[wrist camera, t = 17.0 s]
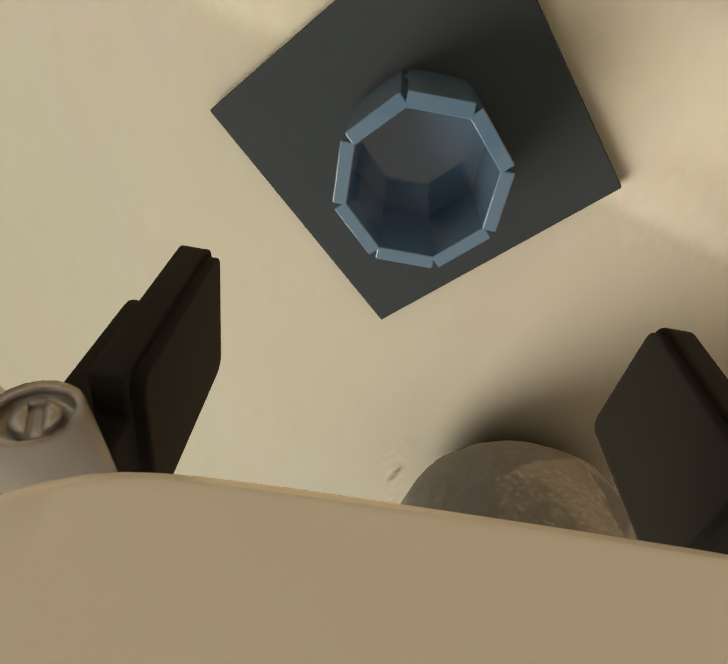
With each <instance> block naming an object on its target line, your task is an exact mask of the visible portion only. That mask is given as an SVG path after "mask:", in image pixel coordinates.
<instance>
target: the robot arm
mask: <svg viewBox="0 0 728 664" xmlns="http://www.w3.org/2000/svg"><path fill="white" fill-rule="evenodd" d="M220 360H221V322H220V261H219V259H218V258H213V257H212V256H211V252H210V250H207V249H201V248H195V247H189V246H180V247H179V248H178V250H177V251H176V252H175V254H174V255H173V256H172V258H171V259H170V260H169V262H168V263H167V264H166V266H165V267H164V268H163V270H162V271H161V272H160V274H159V275H158V276H157V278H156V279H155V281H154V282H153V283H152V285H151V286H150V287H149V289H148V290H147V291H146V293H145V294H144V295H143V297H142V298H141V299H140V301H138V300H130V301H128V302H127V303H126V304H125V305H124V306H123V307H122V309H121V310H120V311H119V312H118V314H117V315H116V316H115V318H114V319H113V320H112V321H111V323H110V324H109V325H108V327H107V328H106V329H105V330H104V332H103V333H102V334H101V336H100V337H99V338H98V339H97V341H96V342H95V343H94V345H93V346H92V347H91V348H90V350H89V351H88V352H87V353H86V355H85V356H84V357H83V359H82V360H81V361H80V362H79V364H78V365H77V366H76V368H75V369H74V370H73V371H72V373H71V374H70V375H69V377H68V378H67V379H66V380H65V382H60V381H36V382H30V383H25V384H22V385H19V386H17V387H14V388H11V389H9V390H7V391H5V392H4V393H2V394H0V664H728V379H727V378H726V376H725V375H724V374H723V372H722V371H721V370H720V368H719V367H718V366H717V364H716V363H715V362H714V360H713V359H712V358H711V356H710V355H709V354H708V352H707V351H706V350H705V348H704V347H703V346H702V344H701V343H700V342H699V340H698V339H697V338H696V336H695V335H694V334H693V333H691V332H686V331H681V330H675V329H669V328H661V329H659V330H658V331H657V332H656V333H651V334H649V335H648V336H647V338H646V339H645V341H644V342H643V344H642V346H641V347H640V349H639V350H638V352H637V354H636V355H635V357H634V358H633V360H632V362H631V363H630V365H629V366H628V368H627V370H626V371H625V373H624V374H623V376H622V378H621V379H620V381H619V382H618V384H617V386H616V387H615V389H614V390H613V392H612V394H611V395H610V397H609V398H608V400H607V402H606V403H605V405H604V406H603V408H602V410H601V411H600V413H599V414H598V416H597V418H596V421H595V432H596V435H597V438H598V440H599V443H600V445H601V448H602V451H603V453H604V456H605V458H606V461H607V463H608V466H609V468H610V471H611V473H612V476H613V478H614V481H615V483H616V486H617V488H618V491H619V494H620V496H621V499H622V501H623V504H624V506H625V509H626V511H627V514H628V516H629V519H630V521H631V524H632V526H633V529H634V531H635V534H636V537H637V539H638V540H634V539H627V538H621V537H615V536H608V535H602V534H595V533H589V532H583V531H576V530H570V529H563V528H556V527H550V526H543V525H537V524H530V523H523V522H517V521H510V520H504V519H497V518H490V517H484V516H477V515H470V514H464V513H457V512H450V511H444V510H437V509H430V508H424V507H417V506H410V505H403V504H396V503H389V502H382V501H375V500H369V499H362V498H355V497H348V496H341V495H334V494H327V493H320V492H313V491H306V490H300V489H293V488H285V487H278V486H270V485H262V484H254V483H247V482H239V481H231V480H224V479H216V478H208V477H199V476H188V475H177V474H173V473H174V471H175V469H176V467H177V464H178V462H179V460H180V457H181V455H182V453H183V451H184V448H185V446H186V444H187V441H188V439H189V437H190V434H191V432H192V430H193V428H194V425H195V423H196V421H197V418H198V416H199V414H200V412H201V409H202V407H203V405H204V402H205V400H206V398H207V396H208V393H209V391H210V389H211V386H212V384H213V382H214V380H215V377H216V375H217V373H218V370H219V366H220Z"/></svg>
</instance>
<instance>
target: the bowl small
mask: <svg viewBox="0 0 728 664" xmlns="http://www.w3.org/2000/svg"><path fill="white" fill-rule="evenodd" d="M514 165H515V164H514V161H513V160H512V158H511V156H510V154H509V152H508V150H507V148H506V146H505V144H504V142H503V141H502V139H501V137H500V135H499V133H498V131H497V129H496V127H495V126H494V124H493V122H492V120H491V118H490V116H489V115H488V113H487V111H486V109H485V107H484V106H483V104H482V102H481V100H480V98H479V96H478V95H477V93H476V91H475V89H474V87H473V85H472V84H469V85H468V84H467V82H466V80H465V79H464V78H459V77H454V76H448V75H446V74H442V73H439V72H433V71H423V70H417V69H412V68H408V71H407V73H403V71H402V70H400V71H399V72H397V73H396V74H395V75H393V76H392V77H391V78H389V79H388V80H386V81H385V82H383V83H382V84H380V85H379V86H377V87H376V88H375V89H374V90H373V91H372V92H371V93H370V94H368V95H367V96H366V97H365V98H363V99H362V100H361V101H359V102H358V103H357V104H356V105H355V107H354V110H353V112H351V114H350V116H349V119H348V122H347V124H346V127H345V130H344V132H343V135H342V138H341V140H340V145H339V153H338V160H337V168H336V176H335V183H334V191H333V198H332V201H333V202H334V203H336V206H335V211H336V212H337V214H338V215H339V216H340V218H341V219H342V220H343V221H344V223H345V224H346V225H347V227H348V228H349V229H350V230H351V232H352V233H353V234H354V236H355V237H356V238H357V240H358V241H359V242H360V243H361V245H362V246H363V247H364V249H365V250H366V251H367V252H368V254H371V253H373V252H375V251H376V255H375V257H376V258H377V259H382V260H388V261H393V262H399V263H405V264H410V265H416V266H421V267H427V268H432V266H433V262H435V263H436V264H437V266H438V267H440V266H442V265H444V264H446V263H447V262H449V261H451V260H453V259H454V258H456V257H458V256H460V255H461V254H463V253H465V252H467V251H468V250H470V249H472V248H474V247H476V246H477V245H479V244H481V243H483V242H484V241H486V240H488V239H490V234H489V231H493V232H495V231H496V229H497V226H498V223H499V220H500V217H501V215H502V212H503V209H504V206H505V203H506V200H507V197H508V194H509V191H510V188H511V185H512V182H513V179H514V176H515V172H514V170H513V168H512V167H513V166H514Z"/></svg>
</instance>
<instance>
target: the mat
mask: <svg viewBox="0 0 728 664" xmlns="http://www.w3.org/2000/svg"><path fill="white" fill-rule="evenodd" d="M408 68H412V69H417V70H423V71H433V72H439V73H442V74H446V75H448V76H454V77H459V78H464V79H465V80H466V82H467V84H468V85H469V84H472V85H473V87H474V89H475V91H476V93H477V95H478V96H479V98H480V100H481V102H482V104H483V106H484V107H485V109H486V111H487V113H488V115H489V116H490V118H491V120H492V122H493V124H494V126H495V127H496V129H497V131H498V133H499V135H500V137H501V139H502V141H503V142H504V144H505V146H506V148H507V150H508V152H509V154H510V156H511V158H512V160H513V161H514V164H515V165H514V166H513V167H512V168H513V170H514V172H515V176H514V179H513V182H512V185H511V188H510V191H509V194H508V197H507V200H506V203H505V206H504V209H503V212H502V215H501V217H500V220H499V223H498V226H497V229H496V231H495V232H493V231H489V234H490V239H488V240H486V241H484V242H483V243H481V244H479V245H477V246H476V247H474V248H472V249H470V250H468V251H467V252H465V253H463V254H461V255H460V256H458V257H456V258H454V259H453V260H451V261H449V262H447V263H446V264H444V265H442V266H440V267H438V266H437V264H436V263H435V262H433V266H432V268H427V267H421V266H416V265H410V264H405V263H399V262H393V261H388V260H382V259H377V258H376V257H375V255H376V251H375V252H373V253H371V254H368V252H367V251H366V250H365V249H364V247H363V246H362V245H361V243H360V242H359V241H358V240H357V238H356V237H355V236H354V234H353V233H352V232H351V230H350V229H349V228H348V227H347V225H346V224H345V223H344V221H343V220H342V219H341V218H340V216H339V215H338V214H337V212H336V211H335V206H336V203H334V202H333V201H332V198H333V191H334V183H335V176H336V168H337V160H338V153H339V145H340V140H341V138H342V135H343V132H344V130H345V127H346V124H347V122H348V119H349V116H350V114H351V112H353V110H354V107H355V105H356V104H357V103H358V102H359V101H361V100H362V99H363V98H365V97H366V96H367V95H368V94H370V93H371V92H372V91H373V90H374V89H375V88H376V87H377V86H379V85H380V84H382V83H383V82H385V81H386V80H388V79H389V78H391V77H392V76H393V75H395V74H396V73H397V72H399V71H400V70H402V71H403V73H407V71H408ZM210 111H211V112H212V114H213V115H214V116H215V117H216V118H217V120H218V121H219V122H220V123H221V125H222V126H223V127H224V128H225V129H226V131H227V132H228V133H229V134H230V136H231V137H232V138H233V139H234V140H235V142H236V143H237V144H238V145H239V146H240V148H241V149H242V150H243V151H244V153H245V154H246V155H247V156H248V157H249V159H250V160H251V161H252V162H253V164H254V165H255V166H256V167H257V168H258V170H259V171H260V172H261V173H262V175H263V176H264V177H265V178H266V179H267V181H268V182H269V183H270V184H271V186H272V187H273V188H274V189H275V190H276V192H277V193H278V194H279V195H280V196H281V198H282V199H283V200H284V201H285V203H286V204H287V205H288V206H289V207H290V209H291V210H292V211H293V212H294V214H295V215H296V216H297V217H298V218H299V220H300V221H301V222H302V223H303V225H304V226H305V227H306V228H307V229H308V231H309V232H310V233H311V234H312V235H313V237H314V238H315V239H316V240H317V242H318V243H319V244H320V245H321V246H322V248H323V249H324V250H325V251H326V253H327V254H328V255H329V256H330V257H331V259H332V260H333V261H334V262H335V264H336V265H337V266H338V267H339V268H340V270H341V271H342V272H343V273H344V274H345V276H346V277H347V278H348V279H349V281H350V282H351V283H352V284H353V285H354V287H355V288H356V289H357V290H358V292H359V293H360V294H361V295H362V296H363V298H364V299H365V300H366V301H367V303H368V304H369V305H370V306H371V307H372V309H373V310H374V311H375V312H376V313H377V315H378V316H379V317H380V318H381V319H383V318H385V317H387V316H388V315H390V314H392V313H394V312H396V311H398V310H399V309H401V308H403V307H405V306H407V305H409V304H410V303H412V302H414V301H416V300H418V299H419V298H421V297H423V296H425V295H427V294H429V293H430V292H432V291H434V290H436V289H438V288H439V287H441V286H443V285H445V284H447V283H449V282H450V281H452V280H454V279H456V278H458V277H460V276H461V275H463V274H465V273H467V272H469V271H470V270H472V269H474V268H476V267H478V266H480V265H481V264H483V263H485V262H487V261H489V260H490V259H492V258H494V257H496V256H498V255H500V254H501V253H503V252H505V251H507V250H509V249H511V248H512V247H514V246H516V245H518V244H520V243H521V242H523V241H525V240H527V239H529V238H531V237H532V236H534V235H536V234H538V233H540V232H541V231H543V230H545V229H547V228H549V227H551V226H552V225H554V224H556V223H558V222H560V221H562V220H563V219H565V218H567V217H569V216H571V215H572V214H574V213H576V212H578V211H580V210H582V209H583V208H585V207H587V206H589V205H591V204H592V203H594V202H596V201H598V200H600V199H602V198H603V197H605V196H607V195H609V194H611V193H613V192H614V191H616V190H618V189H620V188H621V184H620V182H619V180H618V178H617V176H616V173H615V171H614V169H613V167H612V165H611V162H610V160H609V158H608V156H607V153H606V151H605V149H604V147H603V145H602V142H601V140H600V138H599V136H598V133H597V131H596V129H595V127H594V125H593V122H592V120H591V118H590V116H589V114H588V111H587V109H586V107H585V105H584V102H583V100H582V98H581V96H580V94H579V91H578V89H577V87H576V85H575V82H574V80H573V78H572V76H571V74H570V71H569V69H568V67H567V65H566V63H565V60H564V58H563V56H562V54H561V51H560V49H559V47H558V45H557V43H556V40H555V38H554V36H553V34H552V31H551V29H550V27H549V25H548V23H547V20H546V18H545V16H544V14H543V12H542V9H541V7H540V5H539V3H538V0H335V1H334V2H333V3H332V4H330V5H329V6H328V7H327V8H326V9H325V10H324V11H322V12H321V13H320V14H319V15H318V16H317V17H316V18H314V19H313V20H312V21H311V22H310V23H309V24H308V25H306V26H305V27H304V28H303V29H302V30H301V31H300V32H298V33H297V34H296V35H295V36H294V37H293V38H292V39H291V40H289V41H288V42H287V43H286V44H285V45H284V46H283V47H281V48H280V49H279V50H278V51H277V52H276V53H275V54H273V55H272V56H271V57H270V58H269V59H268V60H267V61H265V62H264V63H263V64H262V65H261V66H260V67H259V68H257V69H256V70H255V71H254V72H253V73H252V74H251V75H249V76H248V77H247V78H246V79H245V80H244V81H243V82H241V83H240V84H239V85H238V86H237V87H236V88H235V89H233V90H232V91H231V92H230V93H229V94H228V95H227V96H226V97H224V98H223V99H222V100H221V101H220V102H219V103H218V104H216V105H215V106H214V107H213V108H212V109H211V110H210Z"/></svg>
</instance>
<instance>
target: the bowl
mask: <svg viewBox="0 0 728 664" xmlns="http://www.w3.org/2000/svg"><path fill="white" fill-rule="evenodd" d="M401 504H403V505H410V506H417V507H424V508H430V509H437V510H444V511H450V512H457V513H464V514H470V515H477V516H484V517H490V518H497V519H504V520H510V521H517V522H523V523H530V524H537V525H543V526H550V527H556V528H563V529H570V530H576V531H583V532H589V533H595V534H602V535H608V536H615V537H621V538H627V539H634V540H638V539H637V537H636V534H635V531H634V529H633V526H632V524H631V521H630V519H629V516H628V514H627V511H626V509H625V506H624V504H623V501H622V499H621V496H620V494H619V493H618V491H617V490H616V489H615V488H614V487H613V485H612V484H611V483H610V482H609V481H608V480H607V479H606V478H605V477H604V476H603V475H602V474H601V473H600V472H599V471H598V470H597V469H595V468H594V467H593V466H592V465H590V464H589V463H587V462H586V461H584V460H582V459H580V458H578V457H575V456H573V455H571V454H569V453H566V452H564V451H561V450H557V449H554V448H551V447H547V446H543V445H539V444H535V443H531V442H527V441H508V440H503V441H494V442H484V443H477V444H473V445H470V446H468V447H465V448H463V449H460V450H458V451H455V452H453V453H450V454H448V455H445V456H443V457H441V458H439V459H438V460H436V461H435V462H434V463H433V464H432V465H430V466H429V467H428V468H427V469H426V470H425V471H424V472H423V473H422V474H421V475H420V477H419V478H418V479H417V480H416V482H415V483H414V484H413V486H412V487H411V489H410V490H409V492H408V493H407V495H406V496H405V498H404V499H403V501H402V503H401Z"/></svg>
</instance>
